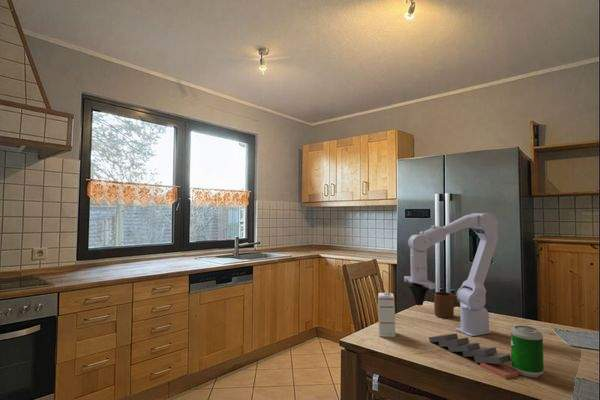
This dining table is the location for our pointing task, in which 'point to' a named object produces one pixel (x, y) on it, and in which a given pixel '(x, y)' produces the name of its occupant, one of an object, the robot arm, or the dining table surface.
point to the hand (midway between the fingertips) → (419, 304)
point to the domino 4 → (480, 352)
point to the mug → (445, 304)
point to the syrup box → (386, 314)
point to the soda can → (527, 351)
